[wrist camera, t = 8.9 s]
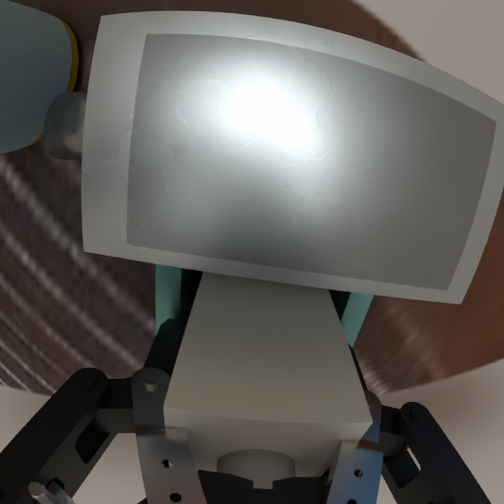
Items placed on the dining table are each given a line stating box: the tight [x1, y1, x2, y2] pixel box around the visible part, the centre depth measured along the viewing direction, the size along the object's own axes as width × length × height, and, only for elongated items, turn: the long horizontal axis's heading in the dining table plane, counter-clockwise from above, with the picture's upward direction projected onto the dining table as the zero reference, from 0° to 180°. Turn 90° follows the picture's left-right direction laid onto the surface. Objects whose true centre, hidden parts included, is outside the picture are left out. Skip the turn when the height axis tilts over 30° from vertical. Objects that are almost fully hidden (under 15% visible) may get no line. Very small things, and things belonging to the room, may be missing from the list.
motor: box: [44, 11, 504, 347], centre depth 10 cm, size 13×15×8 cm
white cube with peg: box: [163, 271, 373, 489], centre depth 10 cm, size 5×5×9 cm
